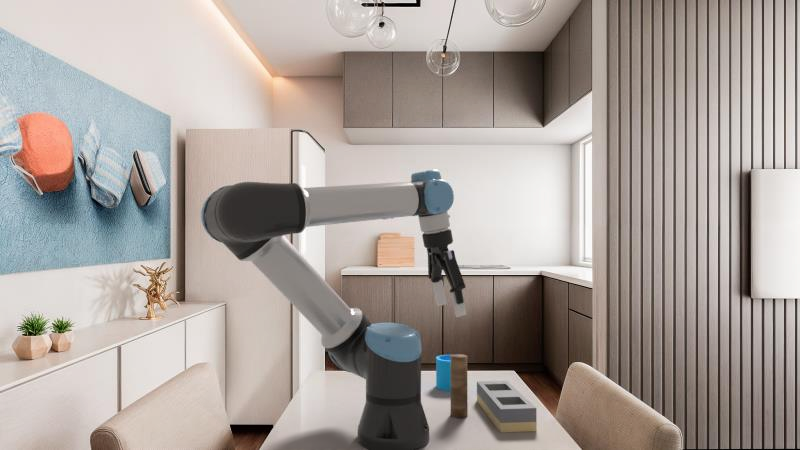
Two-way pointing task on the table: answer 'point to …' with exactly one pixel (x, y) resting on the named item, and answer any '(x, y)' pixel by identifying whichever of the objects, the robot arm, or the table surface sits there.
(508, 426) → the rail
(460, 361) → the peg
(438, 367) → the mug
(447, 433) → the table surface
